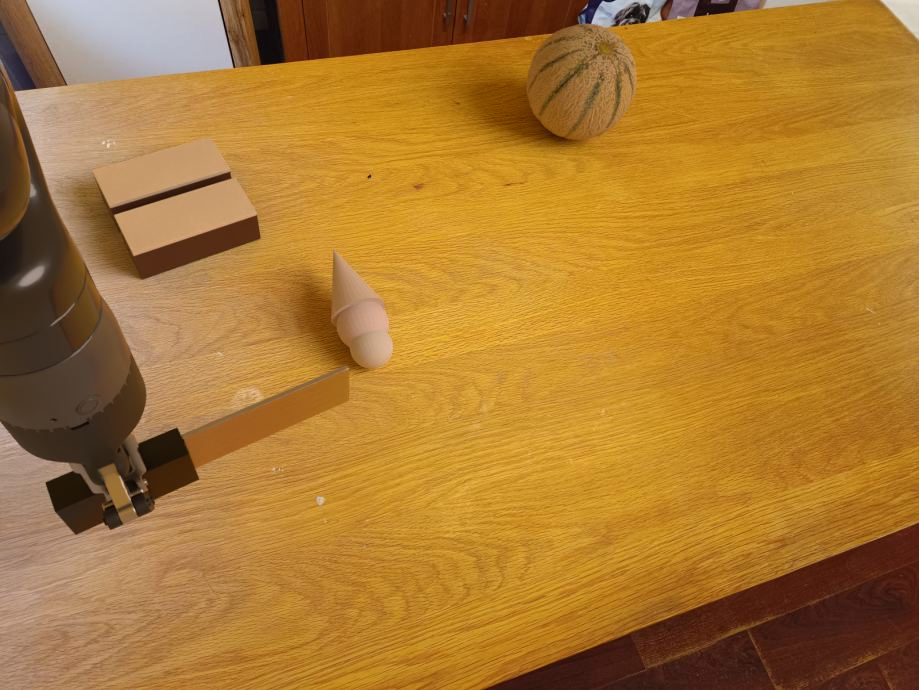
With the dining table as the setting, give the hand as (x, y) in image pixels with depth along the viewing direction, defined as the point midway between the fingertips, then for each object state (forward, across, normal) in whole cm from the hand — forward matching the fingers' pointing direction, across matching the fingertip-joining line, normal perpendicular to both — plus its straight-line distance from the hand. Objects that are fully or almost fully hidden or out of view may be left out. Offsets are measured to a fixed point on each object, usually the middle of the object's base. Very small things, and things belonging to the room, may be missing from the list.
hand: (132, 491), depth 54 cm
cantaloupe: (+14, -33, +69) cm, 77 cm away
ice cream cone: (+14, -16, +26) cm, 33 cm away
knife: (0, 0, +7) cm, 7 cm away
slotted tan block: (+14, -38, +14) cm, 43 cm away
